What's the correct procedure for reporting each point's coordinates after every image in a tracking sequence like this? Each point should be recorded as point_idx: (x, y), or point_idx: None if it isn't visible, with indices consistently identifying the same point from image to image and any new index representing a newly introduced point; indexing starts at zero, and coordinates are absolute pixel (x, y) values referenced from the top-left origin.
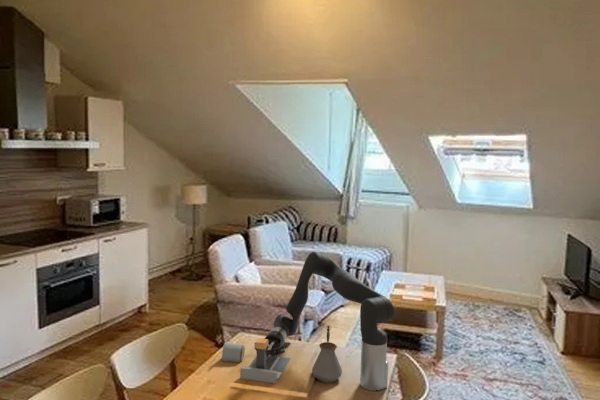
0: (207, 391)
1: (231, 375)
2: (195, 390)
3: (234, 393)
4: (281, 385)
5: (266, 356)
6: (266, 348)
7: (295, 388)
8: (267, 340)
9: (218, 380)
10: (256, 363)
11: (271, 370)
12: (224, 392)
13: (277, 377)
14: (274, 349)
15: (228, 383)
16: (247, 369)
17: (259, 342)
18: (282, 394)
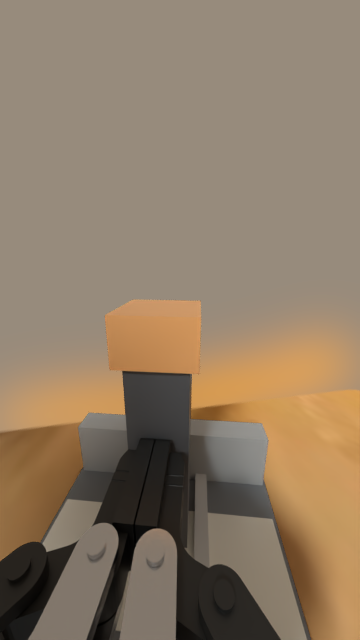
0: (307, 405)
1: (347, 538)
2: (342, 405)
3: (228, 408)
4: (64, 477)
5: (128, 443)
6: (125, 384)
7: (9, 463)
8: (112, 313)
9: (348, 470)
10: (190, 433)
11: (105, 426)
12: (258, 408)
13: (69, 508)
14: (6, 559)
15: (289, 454)
16: (224, 423)
17: (171, 300)
18: (80, 422)
